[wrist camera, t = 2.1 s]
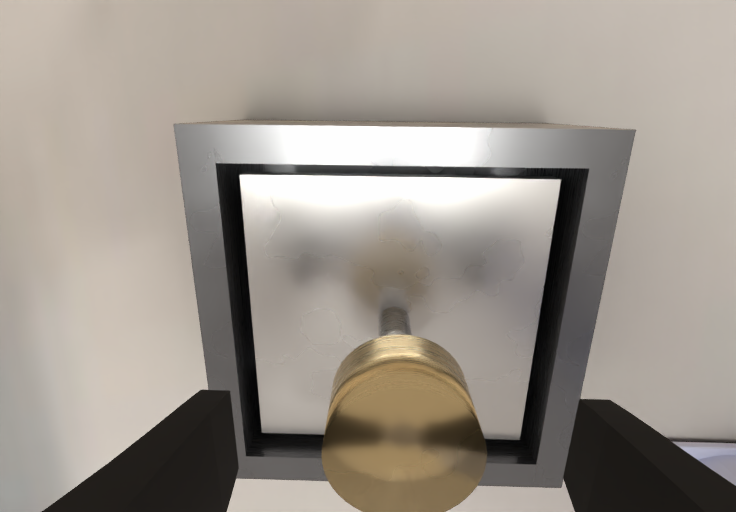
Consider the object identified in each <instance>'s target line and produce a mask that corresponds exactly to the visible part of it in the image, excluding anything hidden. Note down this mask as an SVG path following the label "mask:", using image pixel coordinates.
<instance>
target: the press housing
mask: <svg viewBox="0 0 736 512" xmlns="http://www.w3.org/2000/svg"><path fill="white" fill-rule="evenodd" d="M174 131H175V139H176V146H177V154H178V162H179V169H180V177H181V184H182V192H183V199H184V207H185V215H186V222H187V230H188V237H189V245H190V252H191V260H192V268H193V275H194V283H195V290H196V298H197V305H198V313H199V321H200V328H201V336H202V343H203V351H204V358H205V366H206V373H207V381H208V389H209V390H229V391H230V394H231V403H232V412H233V420H234V429H235V438H236V447H237V456H238V464H239V469H238V473H237V476H236V478H242V479H276V480H310V481H328V479H327V477H326V475H325V472H324V469H323V465H322V457H321V456H322V445H323V439H324V434H288V433H262V428H261V417H260V405H259V394H258V382H257V371H256V359H255V348H254V336H253V325H252V313H251V302H250V290H249V279H248V267H247V256H246V244H245V233H244V221H243V210H242V198H241V187H240V174H242V173H244V172H292V173H359V174H426V175H493V176H553V177H556V178H559V179H561V183H560V190H559V196H558V202H557V208H556V215H555V221H554V227H553V234H552V240H551V246H550V252H549V259H548V265H547V271H546V278H545V284H544V290H543V296H542V303H541V309H540V315H539V322H538V328H537V334H536V340H535V347H534V353H533V359H532V366H531V372H530V378H529V384H528V391H527V397H526V403H525V410H524V416H523V422H522V428H521V435H520V440H506V439H485V442H486V448H487V462H486V467H485V471H484V473H483V476H482V478H481V480H480V482H479V483H478V486H512V487H545V488H561V487H562V482H563V475H564V470H565V465H566V461H567V456H568V451H569V446H570V441H571V437H572V432H573V427H574V422H575V417H576V412H577V408H578V403H579V399H580V395H581V391H582V386H583V381H584V376H585V371H586V367H587V362H588V357H589V352H590V347H591V343H592V338H593V333H594V328H595V323H596V319H597V314H598V309H599V304H600V299H601V295H602V290H603V285H604V280H605V275H606V271H607V266H608V261H609V256H610V251H611V247H612V242H613V237H614V232H615V227H616V223H617V218H618V213H619V208H620V203H621V199H622V194H623V189H624V184H625V179H626V175H627V170H628V165H629V160H630V156H631V151H632V146H633V141H634V136H635V132H636V130H633V129H619V128H605V127H591V126H577V125H563V124H549V123H474V122H393V121H312V120H229V121H213V122H196V123H180V124H174Z"/></svg>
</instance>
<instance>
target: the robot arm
mask: <svg viewBox="0 0 736 512" xmlns="http://www.w3.org/2000/svg"><path fill="white" fill-rule="evenodd" d="M238 469H239V464H238V456H237V447H236V438H235V429H234V420H233V412H232V403H231V394H230V391H229V390H200V391H199V392H198V393H196V394H195V395H194V396H192V397H191V398H190V399H188V400H187V401H186V402H185V403H183V404H182V405H181V406H180V407H178V408H177V409H176V410H175V411H174V412H172V413H171V414H170V415H169V416H167V417H166V418H165V419H164V420H162V421H161V422H160V423H159V424H157V425H156V426H155V427H154V428H152V429H151V430H150V431H149V432H147V433H146V434H145V435H144V436H142V437H141V438H140V439H139V440H137V441H136V442H135V443H134V444H132V445H131V446H130V447H128V448H127V449H126V450H125V451H123V452H122V453H121V454H120V455H118V456H117V457H116V458H114V459H113V460H112V461H111V462H109V463H108V464H107V465H105V466H104V467H102V468H101V469H100V470H98V471H97V472H96V473H94V474H93V475H92V476H90V477H89V478H87V479H86V480H85V481H83V482H82V483H81V484H79V485H78V486H77V487H75V488H74V489H72V490H71V491H70V492H68V493H67V494H66V495H64V496H63V497H62V498H60V499H59V500H57V501H56V502H55V503H53V504H52V505H51V506H49V507H48V508H46V509H45V510H43V511H42V512H226V511H227V508H228V505H229V501H230V498H231V495H232V491H233V487H234V484H235V480H236V476H237V473H238ZM563 478H564V481H565V484H566V487H567V490H568V493H569V496H570V499H571V502H572V504H573V507H574V510H575V512H736V443H704V442H671V441H670V440H669V439H667V438H666V437H664V436H663V435H661V434H660V433H659V432H657V431H656V430H654V429H653V428H651V427H650V426H648V425H647V424H646V423H644V422H643V421H641V420H640V419H638V418H637V417H635V416H634V415H632V414H631V413H629V412H628V411H626V410H625V409H623V408H622V407H620V406H619V405H617V404H615V403H614V402H612V401H610V400H594V399H579V403H578V408H577V412H576V417H575V422H574V427H573V432H572V437H571V441H570V446H569V451H568V456H567V461H566V465H565V470H564V475H563Z"/></svg>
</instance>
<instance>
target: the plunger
mask: <svg viewBox="0 0 736 512" xmlns="http://www.w3.org/2000/svg"><path fill="white" fill-rule="evenodd" d="M560 183H561V179H559V178H556V177H553V176H493V175H426V174H359V173H292V172H244V173H242V174H240V187H241V198H242V210H243V221H244V233H245V244H246V256H247V267H248V279H249V290H250V302H251V313H252V325H253V336H254V348H255V359H256V371H257V382H258V394H259V405H260V417H261V428H262V433H288V434H324V439H323V445H322V456H321V457H322V465H323V469H324V472H325V475H326V477H327V479H328V481H329V483H330V484H331V486H332V488H333V489H334V490H335V491H336V492H337V494H338V495H339V496H340V497H342V498H343V499H344V500H345V501H346V502H348V503H349V504H350V505H352V506H353V507H355V508H357V509H359V510H361V511H363V512H445V511H447V510H450V509H451V508H453V507H455V506H456V505H458V504H459V503H461V502H462V501H463V500H465V499H466V498H467V497H468V496H469V495H470V494H471V493H472V492H473V490H474V489H475V488H476V487H477V485H478V483H479V482H480V480H481V478H482V476H483V473H484V471H485V467H486V462H487V448H486V442H485V439H506V440H520V435H521V428H522V422H523V416H524V410H525V403H526V397H527V391H528V384H529V378H530V372H531V366H532V359H533V353H534V347H535V340H536V334H537V328H538V322H539V315H540V309H541V303H542V296H543V290H544V284H545V278H546V271H547V265H548V259H549V252H550V246H551V240H552V234H553V227H554V221H555V215H556V208H557V202H558V196H559V190H560Z"/></svg>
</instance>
